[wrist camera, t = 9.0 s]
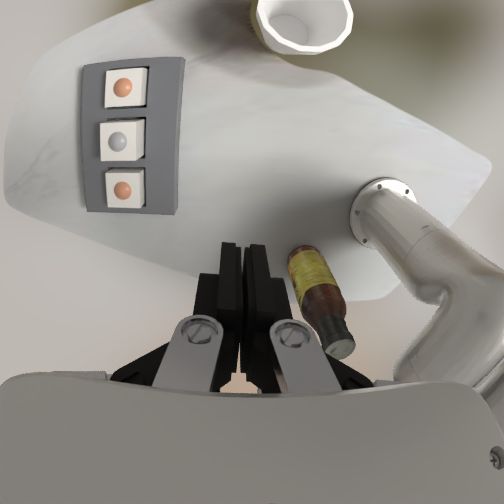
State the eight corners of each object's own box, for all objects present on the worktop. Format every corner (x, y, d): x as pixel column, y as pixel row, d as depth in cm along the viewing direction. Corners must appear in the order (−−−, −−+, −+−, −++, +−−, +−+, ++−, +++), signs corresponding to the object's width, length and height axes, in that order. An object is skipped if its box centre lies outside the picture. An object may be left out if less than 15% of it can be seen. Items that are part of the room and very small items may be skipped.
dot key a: (147, 165, 40) (139, 173, 36) (147, 198, 42) (140, 208, 38) (115, 165, 39) (105, 173, 35) (117, 197, 41) (107, 207, 38)
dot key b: (151, 69, 33) (142, 67, 29) (148, 104, 35) (139, 105, 32) (117, 72, 32) (106, 70, 29) (115, 105, 35) (104, 107, 31)
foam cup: (236, 30, 31) (236, 2, 20) (286, -6, 28) (307, -41, 17) (283, 77, 35) (304, 70, 24) (332, 41, 32) (370, 24, 21)
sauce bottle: (278, 259, 49) (300, 350, 32) (308, 236, 47) (347, 321, 30) (301, 282, 52) (329, 373, 35) (330, 262, 50) (371, 347, 33)
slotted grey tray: (185, 59, 33) (181, 56, 30) (177, 207, 44) (174, 215, 41) (92, 66, 32) (83, 65, 29) (94, 204, 42) (86, 211, 40)
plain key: (145, 118, 35) (136, 121, 31) (144, 154, 37) (135, 160, 34) (111, 120, 34) (99, 123, 31) (112, 154, 37) (100, 161, 33)
